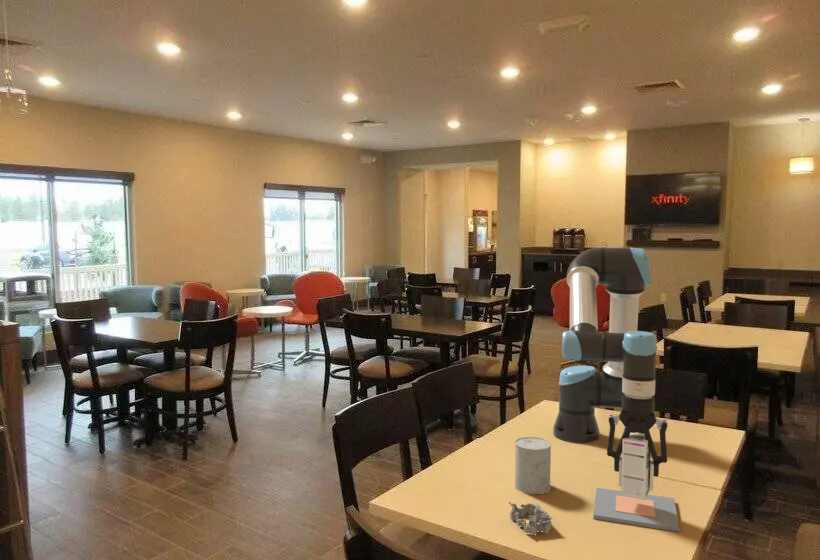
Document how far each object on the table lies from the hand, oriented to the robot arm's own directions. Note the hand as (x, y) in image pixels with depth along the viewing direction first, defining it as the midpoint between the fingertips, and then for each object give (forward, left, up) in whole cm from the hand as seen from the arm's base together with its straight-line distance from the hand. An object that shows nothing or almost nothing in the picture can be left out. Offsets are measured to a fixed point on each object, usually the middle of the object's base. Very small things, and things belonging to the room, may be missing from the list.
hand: (635, 485), depth 147 cm
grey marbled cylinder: (-26, +5, -7) cm, 27 cm away
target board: (0, 0, -6) cm, 6 cm away
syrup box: (0, 0, -2) cm, 2 cm away
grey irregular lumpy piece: (-23, -16, -7) cm, 29 cm away
